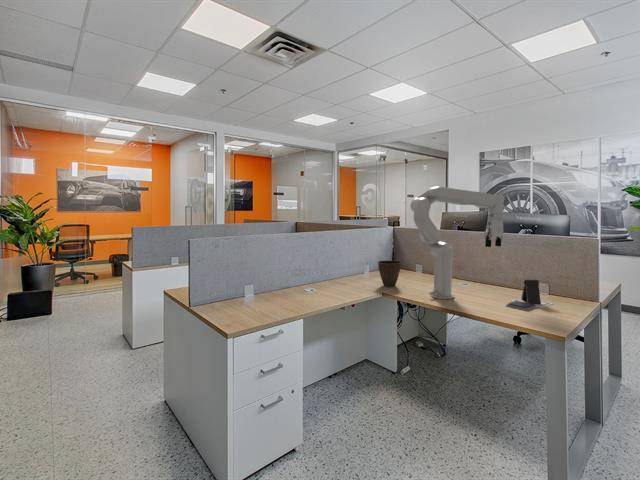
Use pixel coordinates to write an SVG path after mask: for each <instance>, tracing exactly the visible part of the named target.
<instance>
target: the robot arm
mask: <svg viewBox="0 0 640 480" xmlns="http://www.w3.org/2000/svg"><path fill="white" fill-rule="evenodd" d="M504 201H505V198H504V195H502V194H491V193H488V192H480V191H473V190H465V189H460V188H459V189H458V188H452V187H447V186H438V185H437V186H433V187H431V188H428V189H427V190H426V191H424V192H423V193H421V194H420V195H417V196H416V197H415V198H414V199H412V200H411V201H410V205H409V206H410V209H411V211H412V212H413V222H414V224H415V226H416V227H417V229H418V231H419V232H418V237H419V239H420V241H421V243H422V245H424V247H425V248H426V249H427V250H428V252H429V254H431V255H432V256H433V257H435V261H434V266H433V267H434V269H433V271H434V273H433V276H434V277H433V289H432V290H431V291H429V292H428V294H429V295H430V296H431V297H432V298H436V299H439V300H451V299H452V300H453V299H454V298H455V295H454V293H452V288H453V287H452V284H453V280H452V279H453V259H454V256H455V251H454V248H453V246H452V245H451V244H450V243H449V242H445V241H442V234H441V232H440V230H439V229H438V228H437V227H436V225H435V224H434V222H433V221H432V219H431V218H430V210H431V205H433V204H434V203H436V202H438V203H439V202H440V203H446V204H452V205H458V206H475V207H476V208H480V209H483V208H485V209H487V221H486V222H487V223H486V227H485V231H483V235H484V238H485V239H484V240H485V244H484V246H485V247H487V248H491V247H492V238H493V237H494V238H495V241H494V242H495V247H502V240H503V237H504V233H505V232H504V220H503V219H504V218H503V215H504Z"/></svg>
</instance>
